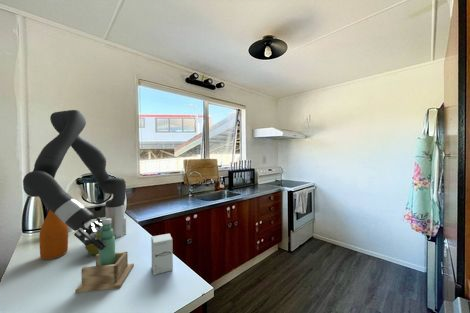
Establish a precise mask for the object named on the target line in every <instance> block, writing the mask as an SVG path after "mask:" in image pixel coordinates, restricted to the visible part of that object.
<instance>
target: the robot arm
mask: <svg viewBox="0 0 470 313" xmlns="http://www.w3.org/2000/svg"><path fill="white" fill-rule="evenodd" d="M50 122H51V125H52V127H53V128H54V129H55V131H56V132H57V133H58V134H57V135H56V136H55V137H54V138H52V140H50V141H49V142H48V143H47V144H45V146H44V147H43V148H42V149H41V151H40V153H39V154H38V155H37V158H36V160H35V161H34V162H35V163H34V165H33V166H34V167H33V169H32V171H30V172H28V173H26V174H25V175H24V177H23V179H22V184H23V185H22V187H23V191H24V193H25V194H26V195H27V196H30V197H32V198H33V197H35V198H37V197H38V198H40V200H42V203H43V205H44V206H45V208H47V209H48V211H49V210H51V211H52V212H53V213H55V215H56V216H57V217H58V218H59V219H60V220H62V221H63V222H64V223H65V224H67V225H68V226H69V227H70V228H71V229H73V230H74V231H75V232H74V233H73V236H75V237H76V238H77V239H78V240H79V241H80V242H81V243H83V244H84V246H85V245H86V246H88V245H89V244H91V245H92V244H93V245H94V246H96V247H97V248H98V249H99V250H103V249H104V248H105V247H106V244H105V243H103V242H102V241H101V240H100V239H98V238H97V235H96V234H97V233H100V231H101V230H103V225H102V220H103V219H104V218H101V217H100V216H98V217H97V218H96V219H95V218H93V217H94V213H93V211H91V210H90V209H88V208H87V207H86V206H85V205H84V204H82V203H81V202H80V201H78V200H76V199H75V198H74V197H73V196H71V195H70V194H69V193H68V192H66V190H64V188H62V186H61V185H60V184H59V183H58V182H57V180H56V179H55V177H56V174H57V172H58V170H59V168H60V167H61V165H62V162H63V160H64V158H65V156H66V154H67V153H68V151H69V149H70V148H72V149H73V150H74V152H75V153H76V155H77V156H78V158H80V160H81V162H82V163H83V164H84V165H85V167H86V168H87V169H88V170H89V172H90V173H91V174H92V175H93V177H94V178H95V180H96V182H97V184H98V186H99V188H100V189H101V191H102V192H103V193H105V194H107V195H108V194H109V195H112V198H111V199H109V200H106V201H105V219H106V218H111V228H113V235H114V236H115V239H118V238H120V237H123V236H124V235H126V234H127V217H125V201H126V189H127V185H126V181H125V179H124V178H123V177H111V176H110V175H109V174H108V172H107V170H106V169H107V168H106V166H107V158H106V157H105V155H104V153H103V152H102V151H101V149H100V148H99V147H98V146H96V144H94V143H92V142H90V141H89V140H86V139H85V138H83V137H82V136H81V135H80V134H81V133H82V132H83V130H84V128H85V127H86V124H87V118H86V116H85V115H84V113H83V112H81V111H80V110H77V109H69V110H62V111H55V112H53V113H51V115H50ZM97 239H98V240H97ZM86 240H88V241H86Z"/></svg>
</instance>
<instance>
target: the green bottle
mask: <svg viewBox="0 0 470 313" xmlns="http://www.w3.org/2000/svg"><path fill="white" fill-rule="evenodd" d="M102 219H103V220H102V225H103V230H101V231H100V238H99V239H100V240H101V241H102V242H103V243H105V244H106V247H105V248H104V249H103V250H99V266H101V265H112V264H115V253H116V238H115V236H114V235H113V228H111V218H106V217H105V218H102Z"/></svg>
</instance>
